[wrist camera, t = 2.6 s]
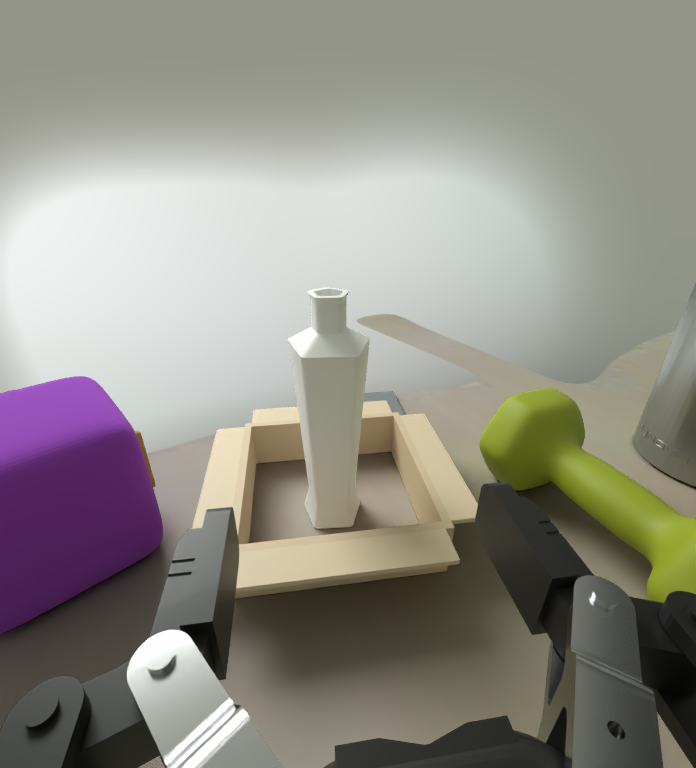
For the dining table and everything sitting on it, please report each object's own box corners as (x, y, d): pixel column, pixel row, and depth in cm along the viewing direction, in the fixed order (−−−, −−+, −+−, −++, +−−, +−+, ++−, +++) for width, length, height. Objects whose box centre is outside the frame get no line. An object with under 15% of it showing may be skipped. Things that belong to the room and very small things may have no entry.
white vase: (362, 483, 30) (367, 281, 23) (369, 529, 26) (377, 302, 19) (300, 486, 29) (286, 282, 23) (297, 533, 26) (280, 304, 19)
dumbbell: (463, 473, 31) (477, 392, 28) (543, 452, 34) (565, 374, 30) (686, 708, 17) (767, 603, 14) (793, 642, 20) (884, 539, 17)
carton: (411, 432, 36) (414, 398, 34) (495, 598, 22) (507, 554, 20) (227, 447, 34) (221, 411, 32) (188, 641, 20) (174, 596, 18)
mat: (392, 394, 42) (393, 391, 42) (408, 426, 37) (408, 422, 36) (316, 399, 41) (316, 396, 41) (321, 433, 36) (321, 429, 35)
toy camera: (99, 452, 33) (59, 339, 28) (200, 531, 26) (168, 396, 21) (-78, 536, 25) (-172, 399, 21) (-5, 681, 18) (-125, 520, 14)
